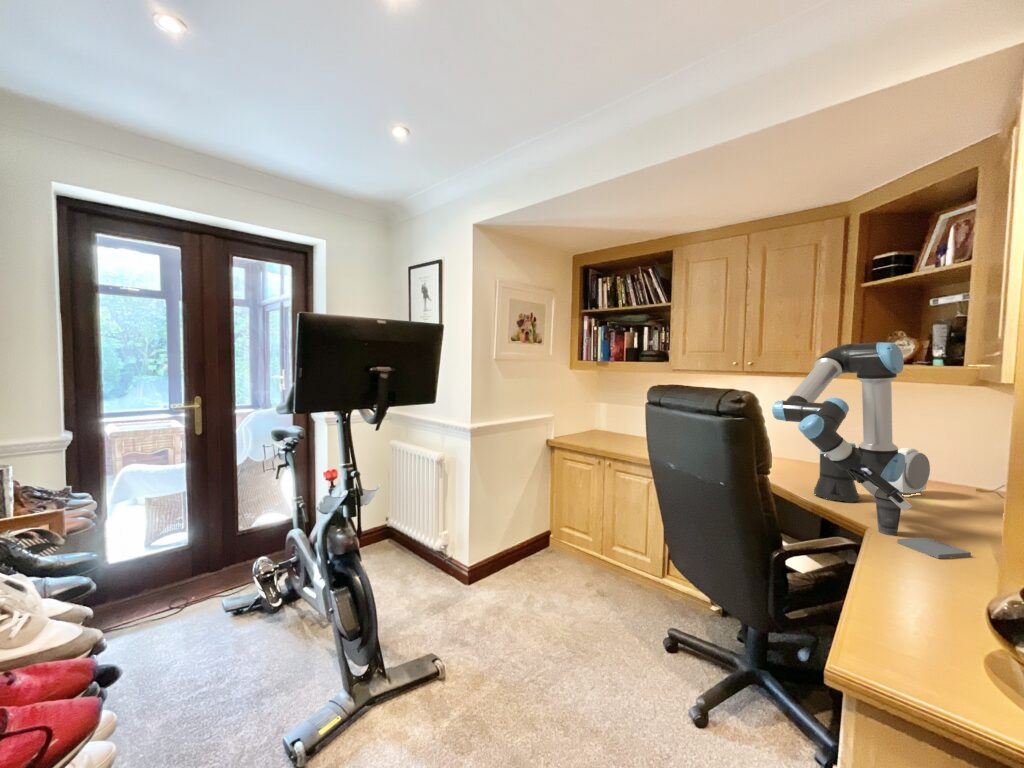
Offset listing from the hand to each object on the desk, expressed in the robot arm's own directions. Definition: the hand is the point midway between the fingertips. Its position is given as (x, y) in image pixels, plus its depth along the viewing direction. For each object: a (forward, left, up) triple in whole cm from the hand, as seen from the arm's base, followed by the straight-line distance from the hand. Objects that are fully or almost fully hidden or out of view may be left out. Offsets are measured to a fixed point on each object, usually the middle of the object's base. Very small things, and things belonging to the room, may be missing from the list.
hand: (893, 502), depth 136 cm
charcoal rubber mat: (+1, +12, -10) cm, 16 cm away
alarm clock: (-53, -38, -11) cm, 66 cm away
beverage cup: (+1, -1, -11) cm, 11 cm away
